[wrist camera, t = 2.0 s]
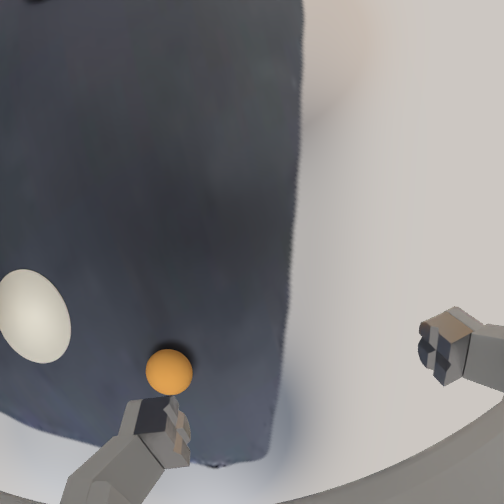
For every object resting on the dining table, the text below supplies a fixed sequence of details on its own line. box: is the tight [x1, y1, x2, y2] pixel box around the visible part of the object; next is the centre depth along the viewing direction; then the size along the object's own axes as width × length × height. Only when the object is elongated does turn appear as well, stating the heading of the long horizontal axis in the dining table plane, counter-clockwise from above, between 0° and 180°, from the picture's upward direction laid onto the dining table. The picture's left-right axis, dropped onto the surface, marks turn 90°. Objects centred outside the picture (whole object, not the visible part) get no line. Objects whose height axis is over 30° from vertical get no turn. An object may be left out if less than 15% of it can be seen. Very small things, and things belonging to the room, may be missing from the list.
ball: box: [146, 349, 193, 395], centre depth 33 cm, size 6×6×6 cm
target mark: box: [0, 269, 71, 363], centre depth 32 cm, size 13×13×1 cm
